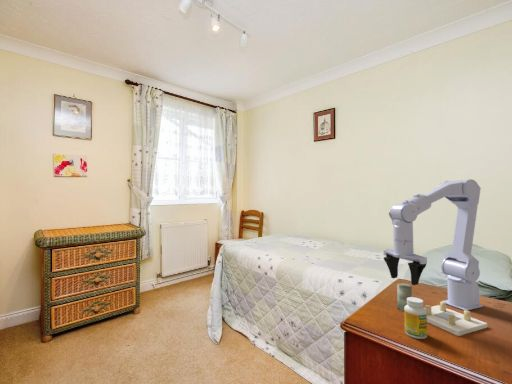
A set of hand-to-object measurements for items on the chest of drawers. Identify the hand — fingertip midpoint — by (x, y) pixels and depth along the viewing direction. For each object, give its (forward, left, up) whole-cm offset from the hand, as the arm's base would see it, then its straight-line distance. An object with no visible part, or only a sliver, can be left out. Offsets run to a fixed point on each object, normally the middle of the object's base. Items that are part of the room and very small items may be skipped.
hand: (404, 281), depth 87 cm
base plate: (-6, +9, -10) cm, 15 cm away
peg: (-2, -2, -10) cm, 10 cm away
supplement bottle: (+10, +11, -10) cm, 18 cm away
